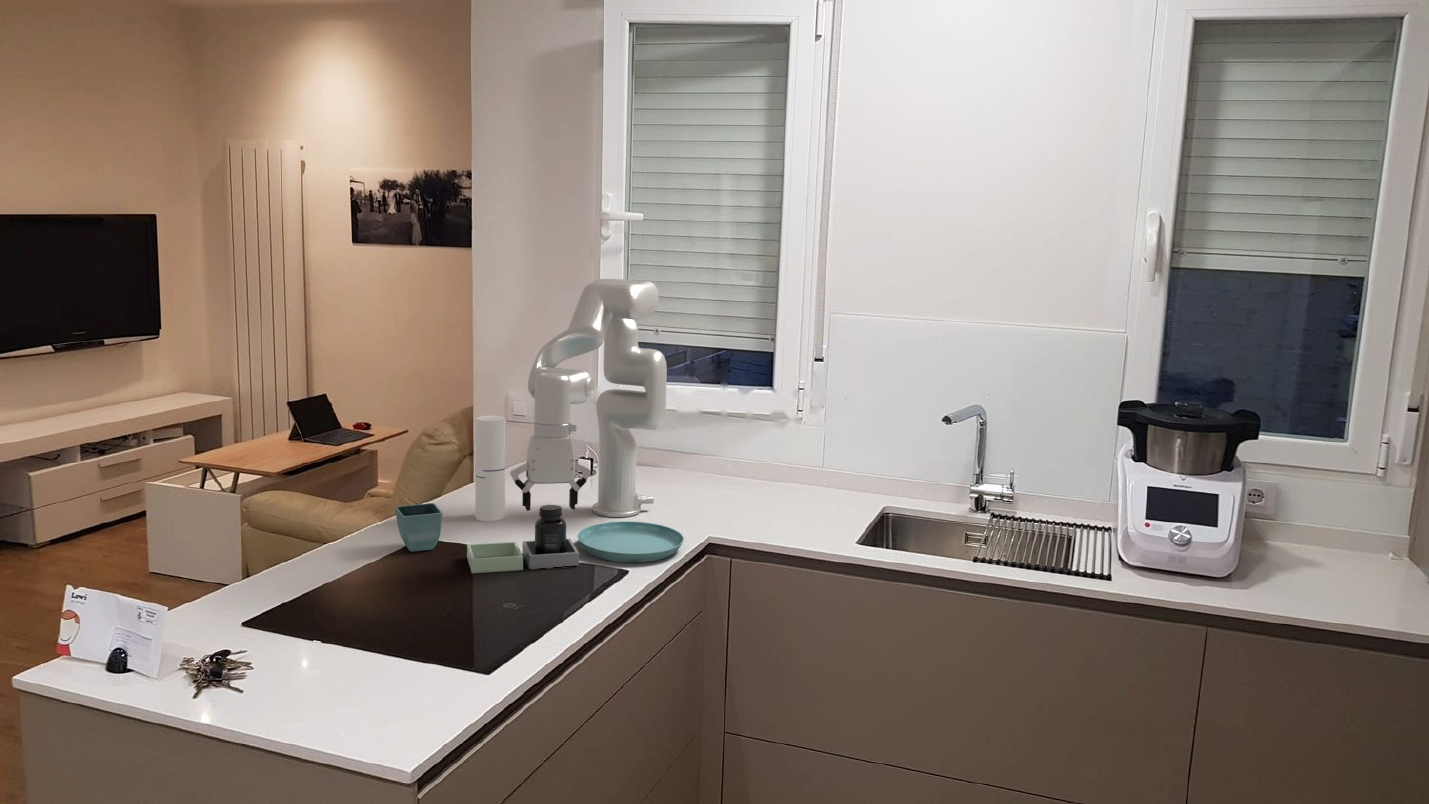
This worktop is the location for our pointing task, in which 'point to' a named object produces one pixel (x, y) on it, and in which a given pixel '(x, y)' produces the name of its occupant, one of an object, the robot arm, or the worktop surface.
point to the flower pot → (419, 525)
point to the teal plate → (630, 541)
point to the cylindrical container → (490, 468)
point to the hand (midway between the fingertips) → (549, 508)
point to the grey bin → (550, 556)
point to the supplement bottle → (550, 531)
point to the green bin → (494, 557)
